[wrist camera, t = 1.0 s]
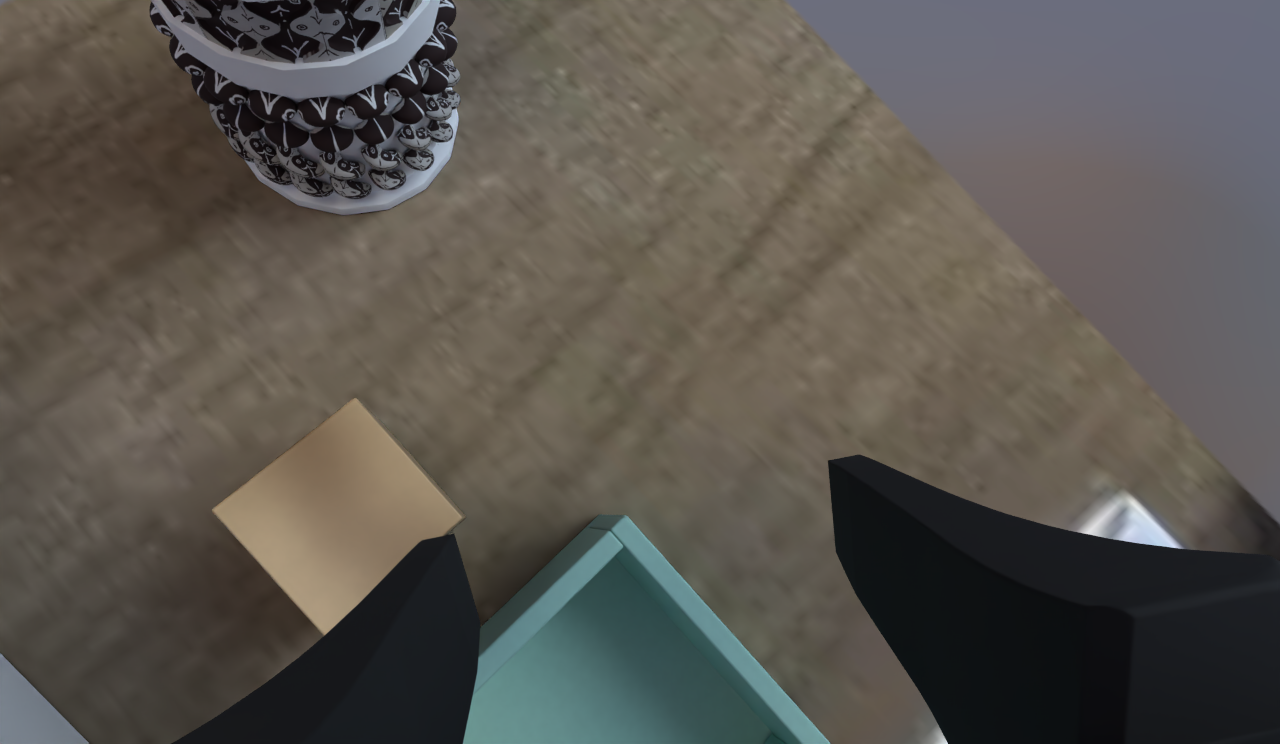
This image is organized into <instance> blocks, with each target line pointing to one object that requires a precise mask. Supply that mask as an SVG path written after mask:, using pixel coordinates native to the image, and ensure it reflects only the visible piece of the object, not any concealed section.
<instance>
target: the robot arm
mask: <svg viewBox="0 0 1280 744" xmlns="http://www.w3.org/2000/svg"><path fill="white" fill-rule="evenodd" d="M828 467H829V478H830V490H831V501H832V513H833V524H834V536H835V547H836V553H837V555H838V557H839V560H840V562H841V564H842V566H843V568H844V570H845V573H846V575H847V577H848V579H849V581H850V583H851V585H852V587H853V589H854V591H855V593H856V595H857V597H858V598H859V600H860V602H861V603H862V605H863V606H864V608H865V609H866V611H867V612H868V614H869V615H870V617H871V619H872V620H873V622H874V623H875V625H876V626H877V628H878V629H879V631H880V632H881V634H882V635H883V637H884V638H885V640H886V641H887V643H888V644H889V646H890V647H891V649H892V650H893V652H894V653H895V655H896V656H897V658H898V659H899V661H900V663H901V664H902V666H903V667H904V669H905V670H906V672H907V673H908V675H909V676H910V678H911V679H912V681H913V682H914V684H915V685H916V687H917V688H918V690H919V691H920V693H921V695H922V696H923V698H924V700H925V702H926V703H927V705H928V707H929V708H930V710H931V712H932V713H933V715H934V717H935V719H936V721H937V723H938V725H939V727H940V729H941V731H942V733H943V735H944V737H945V739H946V740H947V742H948V744H1280V562H1279V561H1278V560H1276V559H1274V558H1273V557H1271V556H1269V555H1260V554H1245V553H1230V552H1215V551H1200V550H1187V549H1178V548H1170V547H1162V546H1154V545H1146V544H1138V543H1132V542H1126V541H1120V540H1113V539H1108V538H1103V537H1098V536H1093V535H1088V534H1083V533H1078V532H1073V531H1068V530H1064V529H1060V528H1056V527H1051V526H1047V525H1044V524H1040V523H1036V522H1033V521H1029V520H1026V519H1022V518H1019V517H1015V516H1012V515H1009V514H1005V513H1002V512H999V511H996V510H993V509H990V508H988V507H985V506H982V505H979V504H977V503H974V502H971V501H968V500H966V499H963V498H960V497H958V496H955V495H953V494H950V493H948V492H945V491H943V490H941V489H938V488H936V487H934V486H931V485H929V484H927V483H924V482H922V481H920V480H918V479H915V478H913V477H911V476H909V475H906V474H904V473H902V472H900V471H897V470H895V469H893V468H891V467H889V466H886V465H884V464H882V463H880V462H877V461H875V460H873V459H870V458H868V457H865V456H862V455H855V456H849V457H844V458H839V459H834V460H829V461H828ZM479 641H480V620H479V616H478V613H477V610H476V606H475V603H474V599H473V596H472V593H471V589H470V586H469V583H468V579H467V576H466V572H465V569H464V566H463V562H462V559H461V555H460V552H459V549H458V545H457V542H456V539H455V535H454V534H451V535H446V536H440V537H435V538H430V539H425V540H422V541H420V542H419V543H418V544H417V545H416V546H415V547H414V548H413V549H412V550H411V551H410V552H409V553H408V554H407V555H406V556H405V557H404V558H403V559H402V560H401V561H400V562H399V563H398V564H397V565H396V566H395V567H394V568H393V569H392V570H391V571H390V572H389V573H388V574H387V575H386V576H385V577H384V578H383V579H382V580H381V581H380V582H379V583H378V584H377V586H376V587H375V588H374V589H373V590H372V591H371V592H370V593H369V594H368V595H367V596H366V597H365V598H364V599H363V600H362V601H361V602H360V603H359V604H358V605H357V606H356V607H355V608H353V609H352V610H351V611H350V612H349V613H348V614H347V615H346V616H345V617H344V618H343V619H342V620H341V621H340V622H338V623H337V624H336V625H335V626H334V627H333V628H332V629H331V630H330V631H329V632H328V633H327V634H326V635H325V636H324V637H322V638H321V639H320V640H319V641H318V642H317V643H316V644H314V645H313V646H312V647H311V648H310V649H309V650H307V651H306V652H305V653H304V654H303V655H301V656H300V657H299V658H298V659H296V660H295V661H294V662H292V663H291V664H290V665H289V666H287V667H286V668H285V669H284V670H282V671H281V672H280V673H278V674H277V675H276V676H275V677H273V678H272V679H271V680H269V681H268V682H266V683H265V684H264V685H262V686H261V687H259V688H258V689H256V690H255V691H253V692H252V693H250V694H249V695H248V696H246V697H245V698H243V699H242V700H240V701H239V702H237V703H236V704H234V705H233V706H231V707H230V708H228V709H227V710H226V711H224V712H223V713H221V714H220V715H218V716H217V717H215V718H214V719H212V720H210V721H209V722H207V723H206V724H204V725H202V726H201V727H199V728H197V729H196V730H194V731H192V732H191V733H189V734H187V735H186V736H184V737H182V738H181V739H179V740H177V741H175V742H174V743H172V744H463V741H464V736H465V731H466V726H467V721H468V717H469V712H470V707H471V702H472V697H473V692H474V687H475V682H476V676H477V670H478V657H479Z"/></svg>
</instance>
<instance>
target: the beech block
mask: <svg viewBox="0 0 1280 744" xmlns="http://www.w3.org/2000/svg"><path fill="white" fill-rule="evenodd" d="M212 512H213V513H214V514H215V515H216V516H217V517H218V518H219V520H220V521H221V522H222V523H223V524H224V525H225V526H226V527H227V529H228V530H229V531H230V532H231V533H232V534H233V535H234V536H235V537H236V539H237V540H238V541H239V542H240V543H241V544H242V545H243V546H244V547H245V549H246V550H247V551H248V552H249V553H250V554H251V555H252V556H253V558H254V559H255V560H256V561H257V562H258V563H259V564H260V565H261V566H262V568H263V569H264V570H265V571H266V572H267V573H268V574H269V575H270V576H271V578H272V579H273V580H274V581H275V582H276V583H277V584H278V585H279V587H280V588H281V589H282V590H283V591H284V592H285V593H286V594H287V595H288V597H289V598H290V599H291V600H292V601H293V602H294V603H295V604H296V605H297V607H298V608H299V609H300V610H301V611H302V612H303V613H304V614H305V616H306V617H307V618H308V619H309V620H310V621H311V622H312V623H313V624H314V626H315V627H316V628H317V629H318V630H319V631H320V632H321V633H322V634H323V636H325V635H326V634H327V633H328V632H329V631H330V630H331V629H332V628H333V627H334V626H335V625H336V624H337V623H338V622H340V621H341V620H342V619H343V618H344V617H345V616H346V615H347V614H348V613H349V612H350V611H351V610H352V609H353V608H355V607H356V606H357V605H358V604H359V603H360V602H361V601H362V600H363V599H364V598H365V597H366V596H367V595H368V594H369V593H370V592H371V591H372V590H373V589H374V588H375V587H376V586H377V584H378V583H379V582H380V581H381V580H382V579H383V578H384V577H385V576H386V575H387V574H388V573H389V572H390V571H391V570H392V569H393V568H394V567H395V566H396V565H397V564H398V563H399V562H400V561H401V560H402V559H403V558H404V557H405V556H406V555H407V554H408V553H409V552H410V551H411V550H412V549H413V548H414V547H415V546H416V545H417V544H418V543H419V542H420V541H422V540H425V539H430V538H435V537H440V536H446V535H447V534H448V533H449V532H450V531H452V530H453V529H454V528H455V527H456V526H457V525H458V524H459V523H461V522H462V521H463V520H464V519H465V518H466V516H465V515H464V513H463V512H462V511H461V510H460V509H459V508H458V507H457V506H456V505H455V503H454V502H453V501H452V500H451V499H450V498H449V497H448V496H447V494H446V493H445V492H444V491H443V490H442V489H441V488H440V487H439V486H438V484H437V483H436V482H435V481H434V480H433V479H432V478H431V477H430V475H429V474H428V473H427V472H426V471H425V470H424V469H423V468H422V467H421V465H420V464H419V463H418V462H417V461H416V460H415V459H414V458H413V456H412V455H411V454H410V453H409V452H408V451H407V450H406V449H405V448H404V446H403V445H402V444H401V443H400V442H399V441H398V440H397V439H396V437H395V436H394V435H393V434H392V433H391V432H390V431H389V430H388V429H387V427H386V426H385V425H384V424H383V423H382V422H381V421H380V420H379V419H378V418H377V417H376V416H374V415H373V414H372V413H371V412H370V411H369V410H368V409H367V408H366V407H365V406H364V405H363V404H362V403H361V402H360V401H359V400H358V399H356V398H353V399H352V400H351V401H349V402H348V403H347V404H346V405H344V406H343V407H342V408H341V409H339V410H338V411H337V412H335V413H334V414H333V415H332V416H330V417H329V418H328V419H326V420H325V421H324V422H323V423H321V424H320V425H319V426H318V427H316V428H315V429H314V430H312V431H311V432H310V433H309V434H307V435H306V436H305V437H303V438H302V439H301V440H300V441H298V442H297V443H296V444H294V445H293V446H292V447H291V448H289V449H288V450H287V451H286V452H284V453H283V454H282V455H280V456H279V457H278V458H277V459H275V460H274V461H273V462H271V463H270V464H269V465H268V466H266V467H265V468H264V469H262V470H261V471H260V472H259V473H257V474H256V475H255V476H254V477H252V478H251V479H250V480H248V481H247V482H246V483H245V484H243V485H242V486H241V487H239V488H238V489H237V490H236V491H234V492H233V493H232V494H230V495H229V496H228V497H227V498H225V499H224V500H223V501H222V502H220V503H219V504H218V505H216V506H215V507H214V508H213V509H212Z"/></svg>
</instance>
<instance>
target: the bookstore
mask: <svg viewBox="0 0 1280 744" xmlns="http://www.w3.org/2000/svg"><path fill="white" fill-rule="evenodd" d="M0 744H89V743H88V742H87V741H86V740H85V739H84V738H83V737H82V736H81V735H80V733H79V732H78V731H77V730H76V729H75V728H74V727H73V726H72V725H71V724H70V723H69V722H68V721H67V720H66V719H65V718H64V717H63V716H62V715H61V714H60V713H59V712H58V711H57V710H56V709H55V708H54V707H53V706H52V705H51V704H50V703H49V702H48V701H47V700H46V699H45V698H44V697H43V696H42V695H41V694H40V693H39V692H38V691H37V690H36V689H35V688H34V687H33V686H32V685H31V684H30V683H29V682H28V681H27V680H26V679H25V678H24V677H23V676H22V675H21V674H20V673H19V672H18V671H17V670H16V669H15V668H14V667H13V665H12V664H11V663H10V662H9V661H8V660H7V659H6V658H5V657H4V656H3V655H2V654H1V653H0Z"/></svg>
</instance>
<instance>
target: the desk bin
mask: <svg viewBox="0 0 1280 744" xmlns="http://www.w3.org/2000/svg"><path fill="white" fill-rule="evenodd" d="M463 744H831V743H830V742H829V741H828V740H827V739H826V738H825V737H824V736H823V734H822V733H821V732H820V731H819V730H818V729H817V728H816V727H815V725H814V724H813V723H812V722H811V721H810V720H809V719H808V718H807V717H806V715H805V714H804V713H803V712H802V711H801V710H800V709H799V708H798V706H797V705H796V704H795V703H794V702H793V701H792V700H791V699H790V697H789V696H788V695H787V694H786V693H785V692H784V691H783V690H782V689H781V687H780V686H779V685H778V684H777V683H776V682H775V681H774V680H773V678H772V677H771V676H770V675H769V674H768V673H767V672H766V671H765V670H764V668H763V667H762V666H761V665H760V664H759V663H758V662H757V661H756V659H755V658H754V657H753V656H752V655H751V654H750V653H749V652H748V650H747V649H746V648H745V647H744V646H743V645H742V644H741V643H740V642H739V640H738V639H737V638H736V637H735V636H734V635H733V634H732V633H731V631H730V630H729V629H728V628H727V627H726V626H725V625H724V624H723V623H722V621H721V620H720V619H719V618H718V617H717V616H716V615H715V614H714V612H713V611H712V610H711V609H710V608H709V607H708V606H707V605H706V603H705V602H704V601H703V600H702V599H701V598H700V597H699V596H698V595H697V593H696V592H695V591H694V590H693V589H692V588H691V587H690V586H689V584H688V583H687V582H686V581H685V580H684V579H683V578H682V577H681V576H680V574H679V573H678V572H677V571H676V570H675V569H674V568H673V567H672V565H671V564H670V563H669V562H668V561H667V560H666V559H665V558H664V556H663V555H662V554H661V553H660V552H659V551H658V550H657V549H656V548H655V546H654V545H653V544H652V543H651V542H650V541H649V540H648V539H647V537H646V536H645V535H644V534H643V533H642V532H641V531H640V530H639V529H638V527H637V526H636V525H635V524H634V523H633V522H632V521H631V520H630V518H629V517H628V516H626V515H602V514H600V515H598V516H597V517H596V518H595V519H594V520H593V521H592V522H591V523H590V524H589V525H588V526H587V527H585V528H584V529H583V530H582V531H581V532H580V533H579V534H578V535H577V536H576V537H575V538H574V539H573V540H572V541H571V542H570V543H569V544H568V545H567V546H566V547H565V548H563V549H562V550H561V551H560V552H559V553H558V554H557V555H556V556H555V557H554V558H553V559H552V560H551V561H550V562H549V563H548V564H547V565H546V566H545V567H544V568H543V569H541V570H540V571H539V572H538V573H537V574H536V575H535V576H534V577H533V578H532V579H531V580H530V581H529V582H528V583H527V584H526V585H525V586H524V587H523V588H522V589H520V590H519V591H518V592H517V593H516V594H515V595H514V596H513V597H512V598H511V599H510V600H509V601H508V602H507V603H506V604H505V605H504V606H503V607H502V608H501V609H500V610H498V611H497V612H496V613H495V614H494V615H493V616H492V617H491V618H490V619H489V620H488V621H487V622H486V623H485V624H484V625H483V626H482V627H481V628H480V641H479V657H478V670H477V676H476V682H475V687H474V692H473V697H472V702H471V707H470V712H469V717H468V721H467V726H466V731H465V736H464V741H463Z"/></svg>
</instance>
